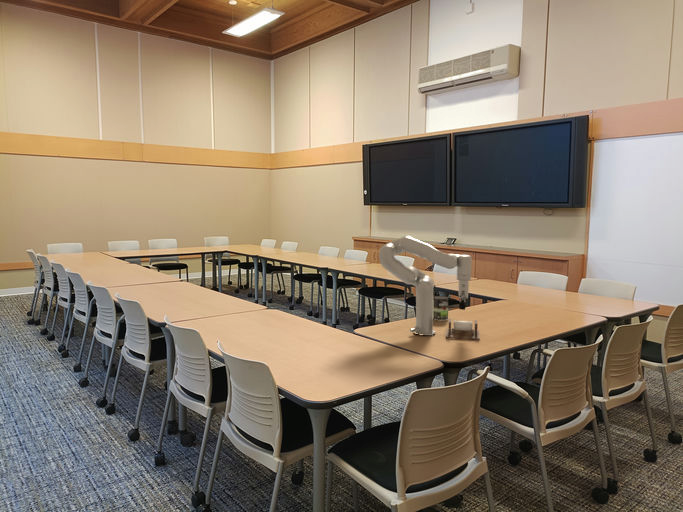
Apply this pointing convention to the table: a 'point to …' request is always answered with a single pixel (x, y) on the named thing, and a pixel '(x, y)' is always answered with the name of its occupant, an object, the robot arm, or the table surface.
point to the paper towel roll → (463, 325)
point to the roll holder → (462, 333)
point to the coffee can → (440, 308)
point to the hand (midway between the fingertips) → (462, 307)
